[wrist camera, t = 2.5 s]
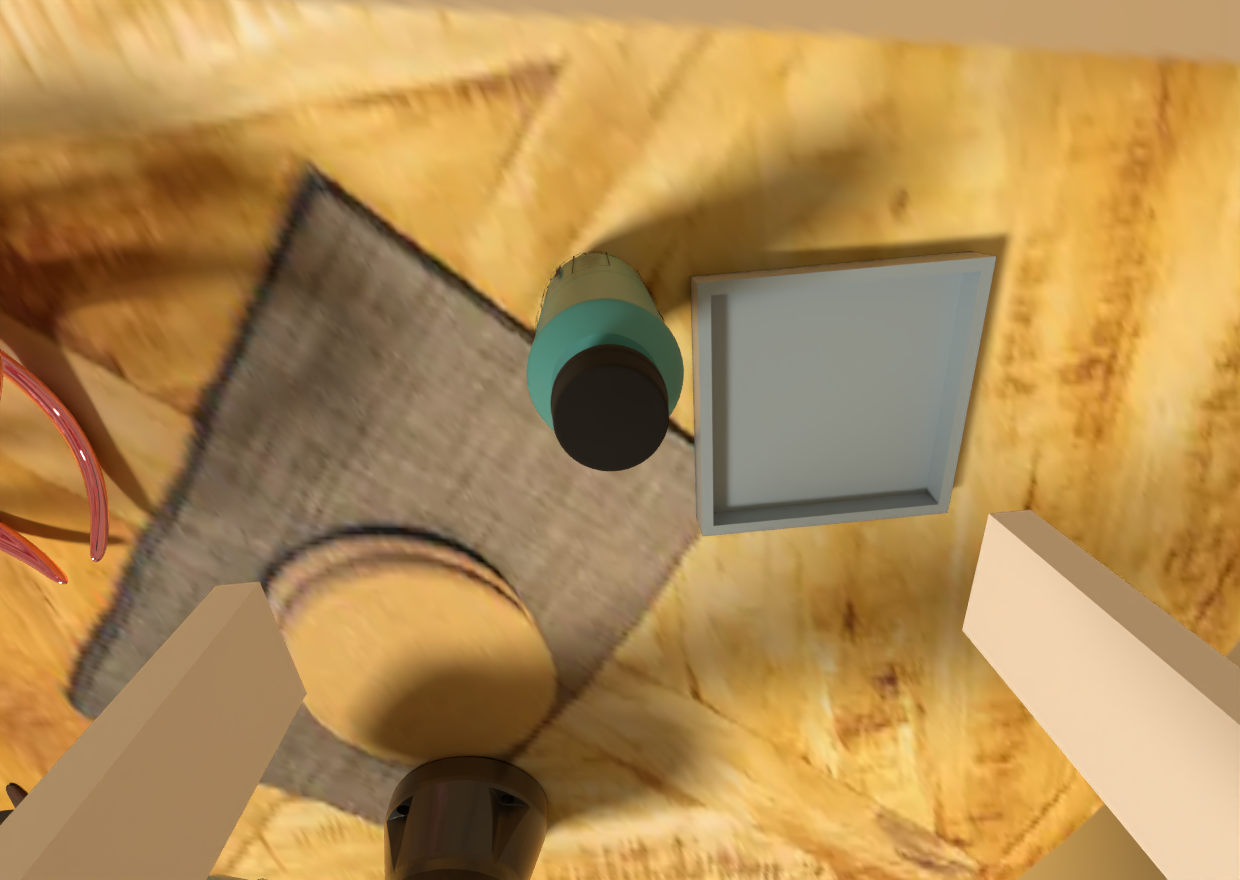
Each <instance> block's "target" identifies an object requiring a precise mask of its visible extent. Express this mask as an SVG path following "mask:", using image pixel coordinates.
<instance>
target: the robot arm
mask: <svg viewBox="0 0 1240 880" xmlns="http://www.w3.org/2000/svg"><path fill="white" fill-rule="evenodd" d="M962 631H963V632H964V633H965V634H966V635H967V637H968V638H969V639H970V640H971V641H972V643H973V644H974V645H975V646H976V648H977V649H978V650H979V651H980V652H981V654H982V655H983V656H984V657H985V658H986V660H987V661H988V662H989V663H990V664H991V666H992V667H993V668H994V669H995V671H996V672H997V673H998V674H999V675H1000V677H1001V678H1002V679H1003V680H1004V681H1005V683H1006V684H1007V685H1008V686H1009V688H1010V689H1011V690H1012V691H1013V692H1014V694H1015V695H1016V696H1017V697H1018V698H1019V700H1020V701H1021V702H1022V703H1023V705H1024V706H1025V707H1026V708H1027V709H1028V711H1029V712H1030V713H1031V714H1032V715H1033V717H1034V718H1035V719H1036V720H1037V722H1038V723H1039V724H1040V725H1041V726H1042V728H1043V729H1044V730H1045V731H1046V732H1047V734H1048V735H1049V736H1050V737H1051V738H1052V740H1053V741H1054V742H1055V743H1056V745H1057V746H1058V747H1059V748H1060V749H1061V751H1062V752H1063V753H1064V754H1065V755H1066V757H1067V758H1068V759H1069V760H1070V762H1071V763H1072V764H1073V765H1074V766H1075V768H1076V769H1077V770H1078V771H1079V772H1080V774H1081V775H1082V776H1083V777H1084V779H1085V780H1086V781H1087V782H1088V783H1089V785H1090V786H1091V787H1092V788H1093V789H1094V791H1095V792H1096V793H1097V794H1098V796H1099V797H1100V798H1101V799H1102V800H1103V802H1104V803H1105V804H1106V805H1107V806H1108V808H1109V809H1110V810H1111V811H1112V812H1113V813H1114V815H1115V816H1116V817H1117V819H1118V820H1119V821H1120V822H1121V823H1122V824H1123V826H1124V827H1125V828H1126V829H1127V830H1128V832H1129V833H1130V834H1131V836H1132V837H1133V838H1134V839H1135V840H1136V841H1137V843H1138V844H1139V845H1140V846H1141V848H1142V849H1143V850H1144V851H1145V853H1146V854H1147V855H1148V856H1149V857H1150V858H1151V860H1152V861H1153V862H1154V863H1155V865H1156V866H1157V867H1158V868H1159V870H1160V871H1161V872H1162V873H1163V874H1164V875H1165V877H1166V878H1167V879H1168V880H1240V668H1239V667H1238V666H1237V665H1235V664H1234V663H1233V662H1231V661H1230V660H1229V659H1227V658H1226V657H1225V656H1224V655H1222V654H1221V653H1220V652H1218V651H1217V650H1216V649H1214V648H1213V647H1212V646H1210V645H1209V644H1208V643H1206V642H1205V641H1204V640H1202V639H1201V638H1200V637H1198V636H1197V635H1196V634H1194V633H1193V632H1192V631H1190V630H1189V629H1188V628H1186V627H1185V626H1184V625H1182V624H1181V623H1180V622H1178V621H1177V620H1176V619H1175V618H1173V617H1172V616H1171V615H1169V614H1168V613H1167V612H1165V611H1164V610H1163V609H1161V608H1160V607H1159V606H1157V605H1156V604H1155V603H1153V602H1152V601H1151V600H1149V599H1148V598H1147V597H1145V596H1144V595H1143V594H1141V593H1140V592H1139V591H1137V590H1136V589H1135V588H1133V587H1132V586H1131V585H1130V584H1128V583H1127V582H1126V581H1124V580H1123V579H1122V578H1120V577H1119V576H1118V575H1116V574H1115V573H1114V572H1112V571H1111V570H1110V569H1108V568H1107V567H1106V566H1104V565H1103V564H1102V563H1100V562H1099V561H1098V560H1096V559H1095V558H1094V557H1092V556H1091V555H1090V554H1088V553H1087V552H1086V551H1085V550H1083V549H1082V548H1081V547H1079V546H1078V545H1077V544H1075V543H1074V542H1073V541H1071V540H1070V539H1069V538H1067V537H1066V536H1065V535H1063V534H1062V533H1061V532H1059V531H1058V530H1057V529H1055V528H1054V527H1053V526H1051V525H1050V524H1049V523H1047V522H1046V521H1045V520H1043V519H1042V518H1041V517H1039V516H1038V515H1037V514H1036V513H1034V512H1033V511H1032V510H1022V511H1012V512H1001V513H990V514H989V515H988V520H987V524H986V529H985V533H984V537H983V542H982V546H981V550H980V555H979V559H978V563H977V568H976V572H975V576H974V581H973V585H972V589H971V594H970V598H969V602H968V607H967V611H966V615H965V620H964V624H963V629H962ZM306 694H307V693H306V691H305V688H304V686H303V684H302V681H301V679H300V677H299V674H298V672H297V669H296V667H295V665H294V662H293V660H292V658H291V655H290V653H289V651H288V648H287V646H286V643H285V641H284V639H283V636H282V634H281V632H280V629H279V627H278V625H277V622H276V620H275V617H274V615H273V613H272V610H271V608H270V606H269V603H268V601H267V599H266V596H265V594H264V591H263V589H262V587H261V584H260V582H251V583H240V584H230V585H219V586H215V587H214V588H213V590H212V591H211V592H210V593H209V594H208V595H207V596H206V597H205V598H204V600H203V601H202V602H201V603H200V604H199V605H198V606H197V607H196V608H195V610H194V611H193V612H192V613H191V614H190V615H189V616H188V617H187V618H186V620H185V621H184V622H183V623H182V624H181V625H180V626H179V627H178V628H177V630H176V631H175V632H174V633H173V634H172V635H171V636H170V637H169V638H168V640H167V641H166V642H165V643H164V644H163V645H162V646H161V647H160V648H159V650H158V651H157V652H156V653H155V654H154V655H153V656H152V657H151V658H150V660H149V661H148V662H147V663H146V664H145V665H144V666H143V667H142V668H141V670H140V671H139V672H138V673H137V674H136V675H135V676H134V677H133V678H132V680H131V681H130V682H129V683H128V684H127V685H126V686H125V687H124V688H123V690H122V691H121V692H120V693H119V694H118V695H117V696H116V697H115V698H114V700H113V701H112V702H111V703H110V704H109V705H108V706H107V707H106V708H105V710H104V711H103V712H102V713H101V714H100V715H99V716H98V717H97V718H96V720H95V721H94V722H93V723H92V724H91V725H90V726H89V727H88V728H87V730H86V731H85V732H84V733H83V734H82V735H81V736H80V737H79V738H78V740H77V741H76V742H75V743H74V744H73V745H72V746H71V747H70V748H69V750H68V751H67V752H66V753H65V754H64V755H63V756H62V757H61V758H60V759H59V761H58V762H57V763H56V764H55V765H54V766H53V767H52V768H51V769H50V771H49V772H48V773H47V774H46V775H45V776H44V777H43V778H42V779H41V781H40V782H39V783H38V784H37V785H36V786H35V787H34V788H33V789H32V791H31V792H30V793H29V794H28V795H27V796H26V797H25V798H24V799H23V801H22V802H21V803H20V804H19V805H18V806H17V807H16V808H15V809H14V810H5V811H0V880H247V879H242V878H236V877H231V876H225V875H219V874H215V875H209V874H210V872H211V870H212V868H213V866H214V865H215V863H216V861H217V859H218V857H219V855H220V853H221V852H222V850H223V848H224V846H225V844H226V842H227V840H228V839H229V837H230V835H231V833H232V831H233V829H234V827H235V826H236V824H237V822H238V820H239V818H240V816H241V814H242V813H243V811H244V809H245V807H246V805H247V803H248V801H249V800H250V798H251V796H252V794H253V792H254V790H255V788H256V787H257V785H258V783H259V781H260V779H261V777H262V775H263V774H264V772H265V770H266V768H267V766H268V764H269V762H270V761H271V759H272V757H273V755H274V753H275V751H276V749H277V748H278V746H279V744H280V742H281V740H282V738H283V736H284V735H285V733H286V731H287V729H288V727H289V725H290V723H291V722H292V720H293V718H294V716H295V714H296V712H297V710H298V709H299V707H300V705H301V703H302V701H303V699H304V697H305V696H306ZM547 816H548V803H547V799H546V796H545V793H544V792H543V790H542V788H541V787H540V786H539V784H538V783H537V782H536V781H535V780H534V779H533V778H532V777H530V776H529V775H528V774H526V773H525V772H523V771H522V770H520V769H518V768H516V767H514V766H511V765H509V764H506V763H503V762H500V761H496V760H492V759H486V758H477V757H458V758H449V759H443V760H439V761H435V762H432V763H429V764H427V765H424V766H422V767H420V768H418V769H416V770H414V771H413V772H411V773H410V774H409V775H407V776H406V777H405V778H404V779H403V780H402V781H401V782H400V783H399V784H398V786H397V787H396V789H395V791H394V793H393V796H392V799H391V802H390V805H389V809H388V812H387V815H386V819H385V826H384V848H385V880H530V878H531V875H532V873H533V870H534V867H535V865H536V862H537V859H538V857H539V854H540V851H541V848H542V846H543V843H544V840H545V836H546V831H547ZM258 880H267V879H258Z"/></svg>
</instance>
